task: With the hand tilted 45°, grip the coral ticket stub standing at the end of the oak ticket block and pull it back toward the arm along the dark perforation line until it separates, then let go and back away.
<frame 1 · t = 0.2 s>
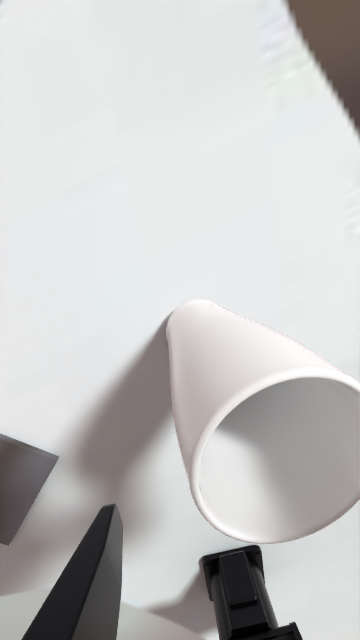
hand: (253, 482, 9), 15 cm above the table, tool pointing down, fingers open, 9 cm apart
drinking glass: (196, 328, 23), on the table, touching gripper
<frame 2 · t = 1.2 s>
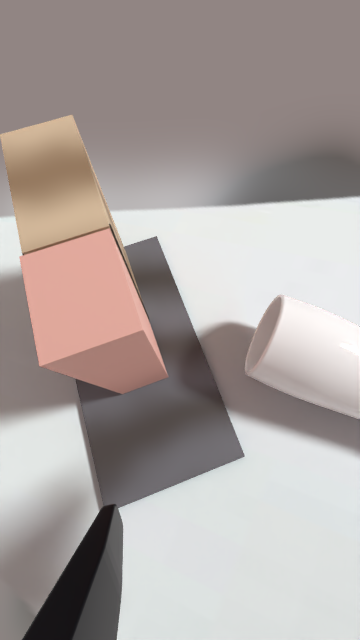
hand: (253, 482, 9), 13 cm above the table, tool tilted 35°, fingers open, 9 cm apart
stub: (117, 336, 17), point 7 cm above the table, slide at 0.0 cm
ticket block: (117, 293, 26), on the table
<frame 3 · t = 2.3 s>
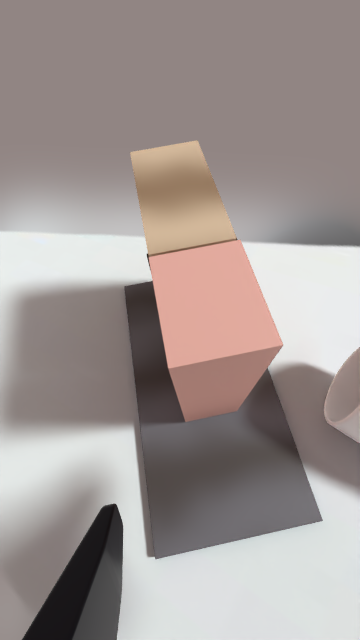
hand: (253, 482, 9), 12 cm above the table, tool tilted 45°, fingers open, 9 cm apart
stub: (205, 356, 16), point 7 cm above the table, slide at 0.0 cm
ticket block: (186, 316, 26), on the table
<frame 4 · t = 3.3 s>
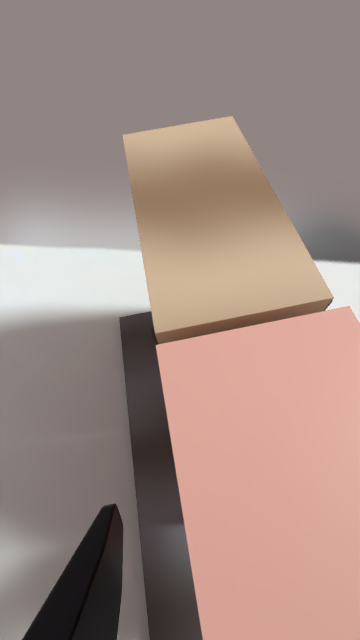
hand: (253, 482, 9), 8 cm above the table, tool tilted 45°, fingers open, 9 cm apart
stub: (244, 464, 10), point 7 cm above the table, slide at 0.0 cm
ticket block: (200, 359, 20), on the table
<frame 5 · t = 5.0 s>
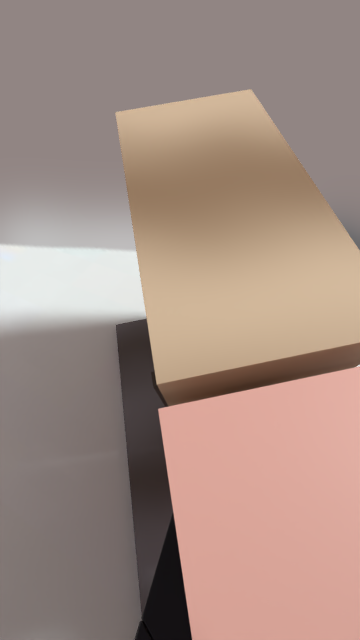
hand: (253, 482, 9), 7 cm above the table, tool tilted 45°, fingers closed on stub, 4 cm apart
stub: (264, 516, 8), point 7 cm above the table, slide at 0.0 cm, touching gripper
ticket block: (205, 371, 18), on the table
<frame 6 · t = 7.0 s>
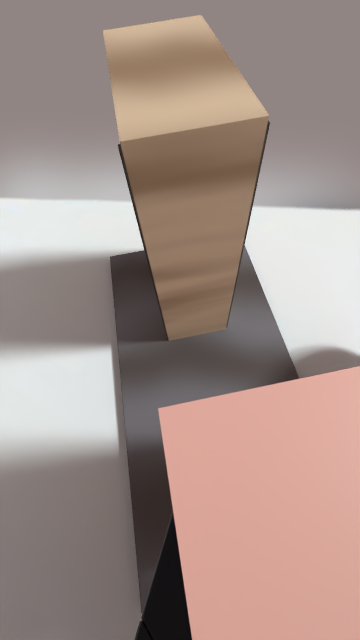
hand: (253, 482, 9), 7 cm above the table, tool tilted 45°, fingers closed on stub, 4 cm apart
stub: (264, 516, 8), point 7 cm above the table, slide at 6.5 cm, touching gripper
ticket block: (186, 291, 21), on the table
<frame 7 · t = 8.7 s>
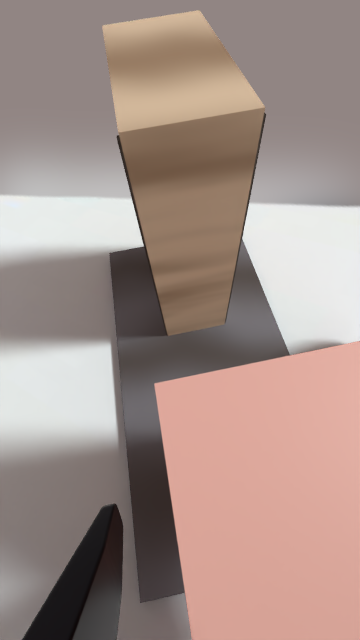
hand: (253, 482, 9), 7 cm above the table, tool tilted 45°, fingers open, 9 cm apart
stub: (260, 504, 8), point 7 cm above the table, slide at 6.5 cm
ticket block: (185, 287, 21), on the table
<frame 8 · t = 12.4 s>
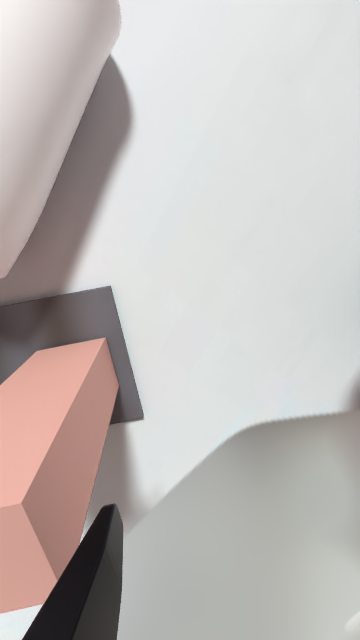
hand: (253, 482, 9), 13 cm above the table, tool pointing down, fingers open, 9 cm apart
stub: (45, 425, 14), point 7 cm above the table, slide at 6.5 cm
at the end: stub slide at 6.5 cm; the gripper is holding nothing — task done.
